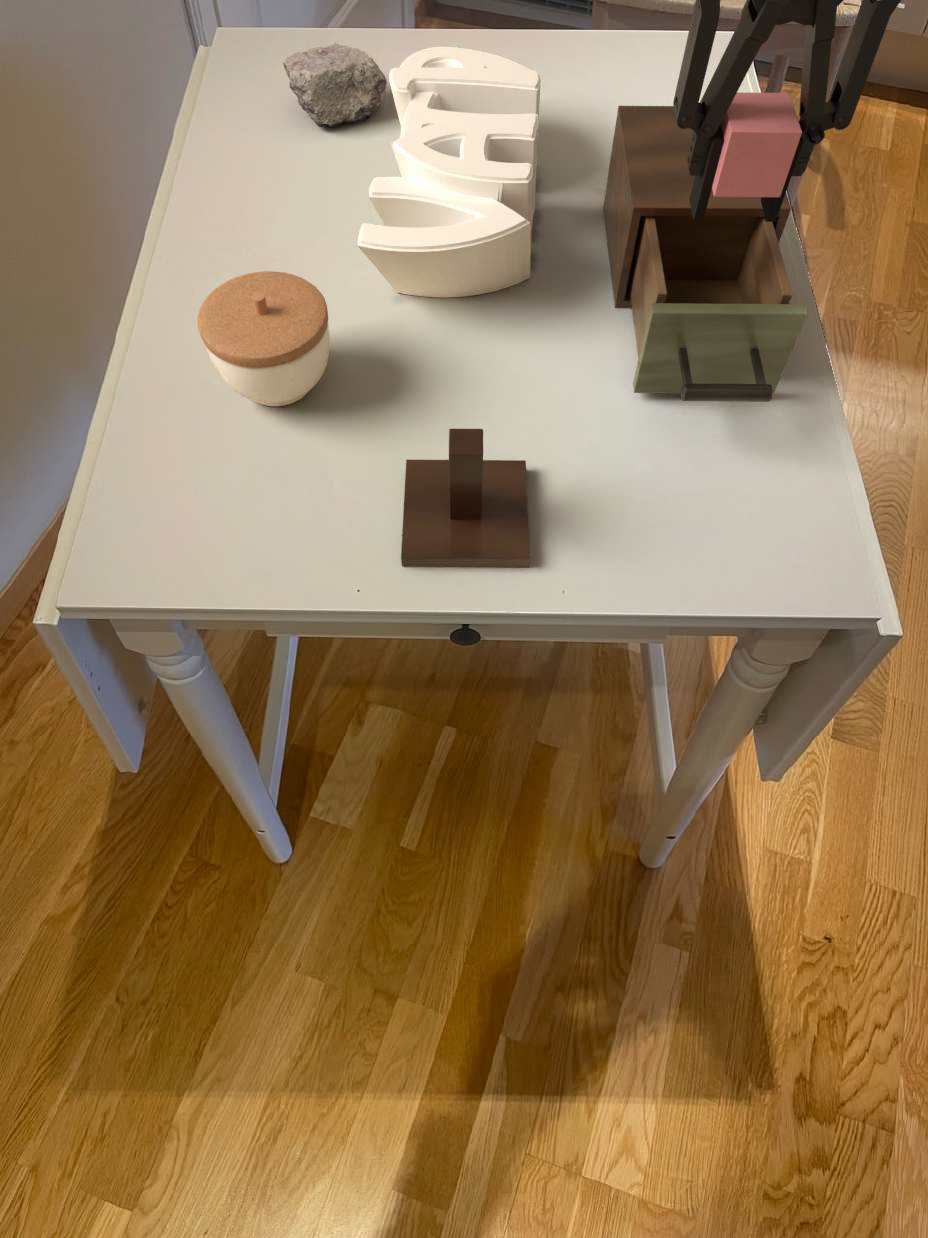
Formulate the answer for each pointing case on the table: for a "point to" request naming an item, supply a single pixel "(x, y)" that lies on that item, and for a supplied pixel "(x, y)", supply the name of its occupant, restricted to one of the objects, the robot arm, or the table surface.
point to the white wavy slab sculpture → (458, 176)
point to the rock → (336, 83)
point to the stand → (465, 508)
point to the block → (757, 145)
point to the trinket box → (267, 336)
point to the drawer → (711, 308)
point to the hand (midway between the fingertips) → (732, 209)
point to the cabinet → (656, 186)
